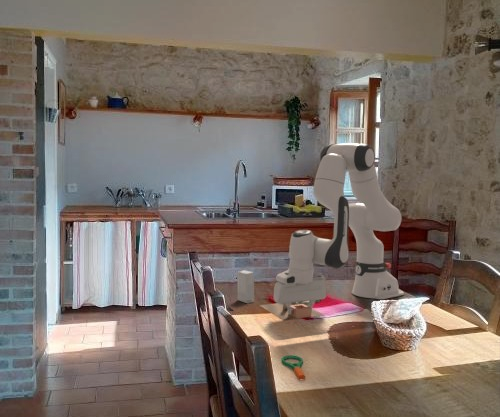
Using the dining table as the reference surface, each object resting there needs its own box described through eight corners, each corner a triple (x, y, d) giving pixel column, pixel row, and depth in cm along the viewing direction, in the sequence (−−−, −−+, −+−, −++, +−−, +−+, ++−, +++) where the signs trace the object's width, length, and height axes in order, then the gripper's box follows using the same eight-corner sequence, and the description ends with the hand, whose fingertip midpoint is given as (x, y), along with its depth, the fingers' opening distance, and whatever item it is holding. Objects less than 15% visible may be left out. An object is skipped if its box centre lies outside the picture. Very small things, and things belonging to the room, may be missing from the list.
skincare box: (254, 302, 215) (255, 272, 213) (246, 303, 212) (246, 273, 210) (245, 298, 219) (245, 269, 218) (236, 300, 216) (236, 271, 215)
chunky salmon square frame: (302, 311, 197) (303, 303, 197) (311, 316, 192) (311, 308, 191) (288, 313, 195) (288, 305, 194) (296, 318, 189) (296, 310, 189)
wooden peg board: (297, 304, 212) (298, 286, 211) (324, 319, 194) (325, 299, 193) (259, 309, 205) (259, 290, 204) (283, 324, 187) (284, 303, 186)
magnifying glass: (279, 359, 156) (279, 354, 156) (299, 358, 157) (299, 353, 157) (290, 381, 141) (291, 375, 141) (313, 380, 142) (313, 374, 142)
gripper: (321, 271, 199) (319, 307, 200) (271, 275, 190) (271, 313, 192) (330, 275, 193) (329, 312, 195) (280, 279, 185) (279, 318, 186)
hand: (299, 312), depth 193 cm, fingers closed on chunky salmon square frame, 6 cm apart
